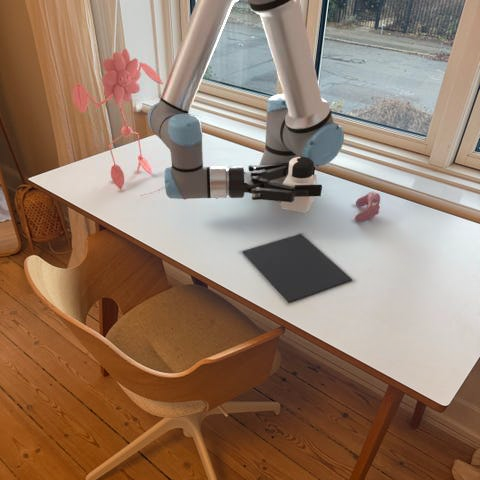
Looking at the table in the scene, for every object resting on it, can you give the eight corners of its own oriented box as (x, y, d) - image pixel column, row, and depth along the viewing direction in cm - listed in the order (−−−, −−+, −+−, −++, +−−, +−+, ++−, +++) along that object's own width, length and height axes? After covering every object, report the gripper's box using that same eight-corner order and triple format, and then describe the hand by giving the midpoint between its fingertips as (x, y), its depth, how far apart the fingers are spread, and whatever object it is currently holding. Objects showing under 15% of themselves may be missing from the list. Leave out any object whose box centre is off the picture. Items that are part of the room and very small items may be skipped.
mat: (300, 235, 120) (300, 233, 119) (351, 280, 106) (352, 279, 106) (242, 252, 114) (242, 250, 113) (288, 303, 100) (288, 301, 100)
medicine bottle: (313, 200, 123) (319, 156, 115) (307, 213, 118) (313, 168, 110) (287, 195, 125) (291, 152, 116) (280, 208, 120) (283, 163, 111)
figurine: (87, 191, 134) (56, 55, 110) (156, 162, 148) (142, 37, 124) (119, 210, 127) (94, 69, 103) (189, 178, 141) (181, 48, 117)
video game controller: (367, 229, 125) (384, 209, 120) (353, 220, 124) (369, 200, 119) (367, 210, 132) (383, 191, 127) (353, 202, 131) (370, 183, 126)
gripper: (226, 176, 126) (308, 174, 127) (229, 218, 111) (323, 216, 112) (226, 149, 121) (312, 147, 122) (229, 190, 106) (327, 188, 107)
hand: (317, 180), depth 117 cm, fingers closed on medicine bottle, 9 cm apart
